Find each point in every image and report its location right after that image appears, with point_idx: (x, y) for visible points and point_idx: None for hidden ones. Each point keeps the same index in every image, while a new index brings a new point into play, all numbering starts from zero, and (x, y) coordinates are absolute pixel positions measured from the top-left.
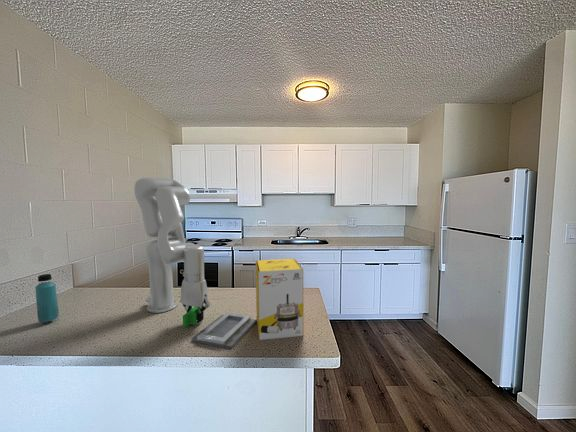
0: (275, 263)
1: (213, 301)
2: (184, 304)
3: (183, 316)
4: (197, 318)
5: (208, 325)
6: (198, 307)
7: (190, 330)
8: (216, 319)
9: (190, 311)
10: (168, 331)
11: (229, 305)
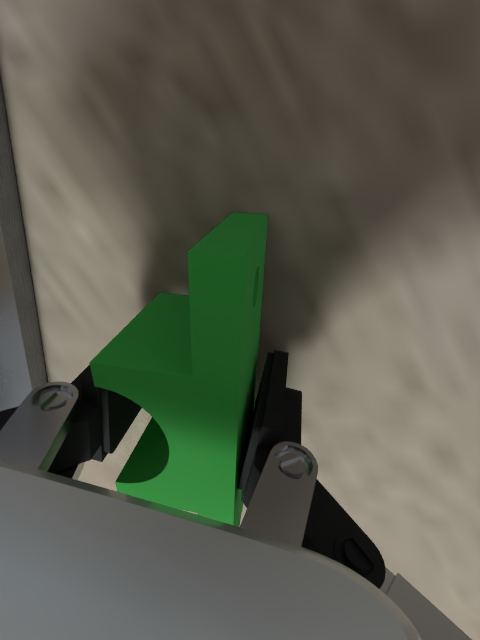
0: None
1: None
2: (290, 549)
3: (228, 254)
4: None
5: (5, 269)
6: (14, 461)
7: (167, 189)
8: (25, 380)
9: (206, 418)
10: (441, 121)
11: None
